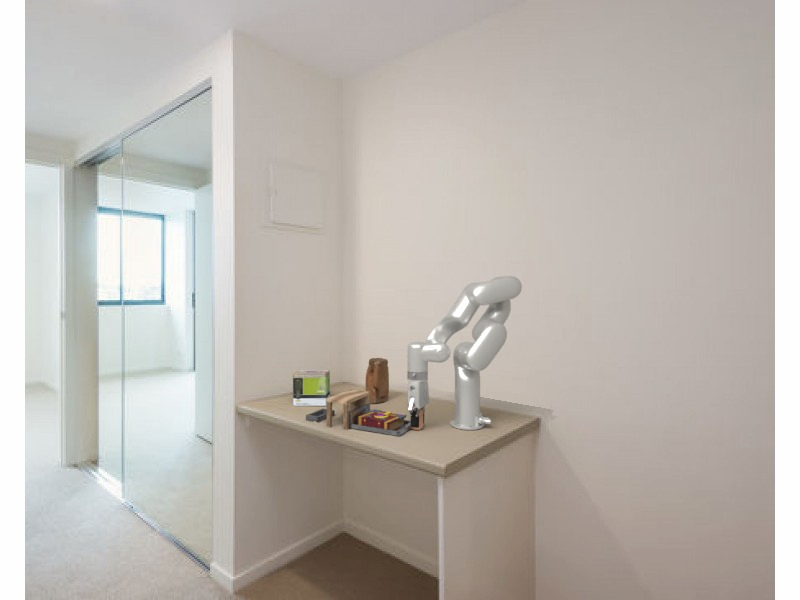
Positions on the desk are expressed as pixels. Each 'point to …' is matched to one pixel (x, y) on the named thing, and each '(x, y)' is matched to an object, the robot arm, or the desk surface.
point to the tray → (366, 409)
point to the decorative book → (381, 420)
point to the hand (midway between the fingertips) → (417, 424)
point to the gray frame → (318, 415)
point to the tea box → (311, 387)
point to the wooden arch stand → (347, 404)
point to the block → (377, 380)
